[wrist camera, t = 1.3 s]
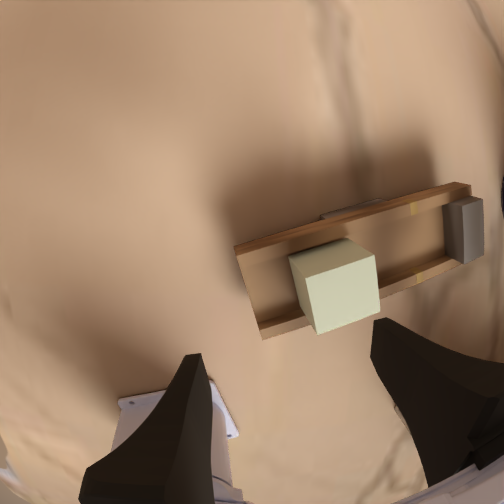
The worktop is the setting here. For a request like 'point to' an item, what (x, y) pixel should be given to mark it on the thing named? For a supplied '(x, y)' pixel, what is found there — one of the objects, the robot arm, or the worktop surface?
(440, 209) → the beam
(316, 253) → the block
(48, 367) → the worktop surface
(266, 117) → the worktop surface
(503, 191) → the storage jar
